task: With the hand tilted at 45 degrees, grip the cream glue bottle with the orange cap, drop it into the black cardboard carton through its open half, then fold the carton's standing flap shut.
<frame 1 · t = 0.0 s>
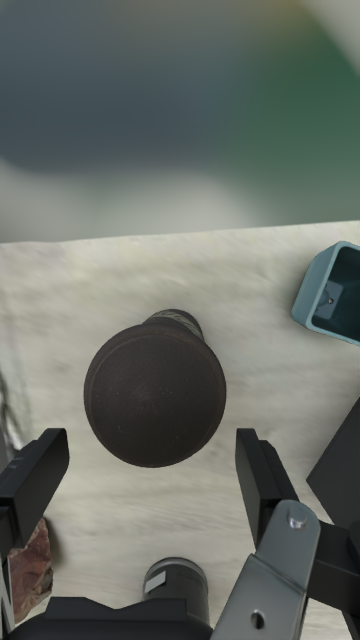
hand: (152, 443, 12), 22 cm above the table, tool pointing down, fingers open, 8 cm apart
container: (170, 339, 34), on the table
mineral specimen: (12, 544, 38), on the table
flower pot: (316, 297, 33), on the table
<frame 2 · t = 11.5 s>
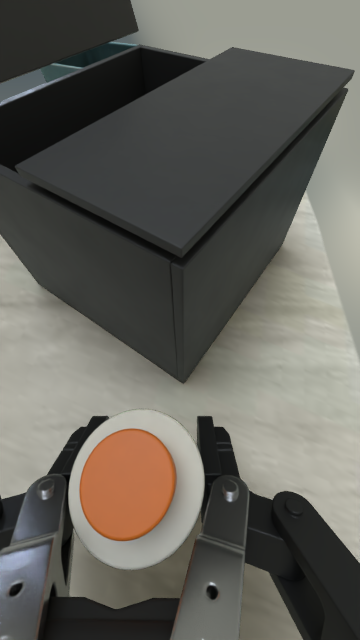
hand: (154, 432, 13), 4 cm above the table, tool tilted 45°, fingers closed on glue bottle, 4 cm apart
carton: (165, 263, 24), on the table
glue bottle: (159, 476, 16), on the table, touching gripper
flower pot: (111, 143, 36), on the table
when the fingers open (15 cm above the table, at t = 18.3 s): glue bottle drops 9 cm, resting on carton.
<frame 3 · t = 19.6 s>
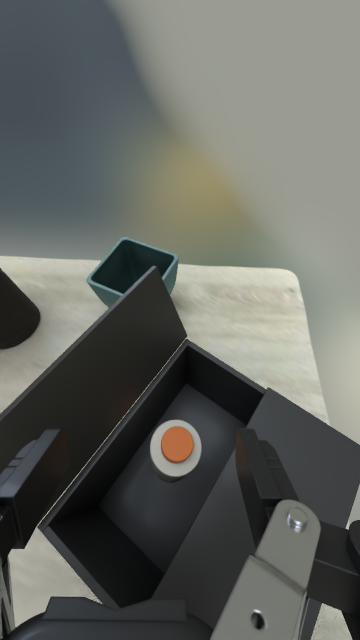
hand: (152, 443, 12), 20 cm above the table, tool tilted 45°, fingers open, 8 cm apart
flap: (96, 391, 17), point 16 cm above the table, hinge at 110.0°
container: (12, 325, 39), on the table
carton: (200, 482, 28), on the table
glue bottle: (170, 459, 29), point 1 cm above the table, tilted 7°, touching carton
flower pot: (143, 307, 40), on the table
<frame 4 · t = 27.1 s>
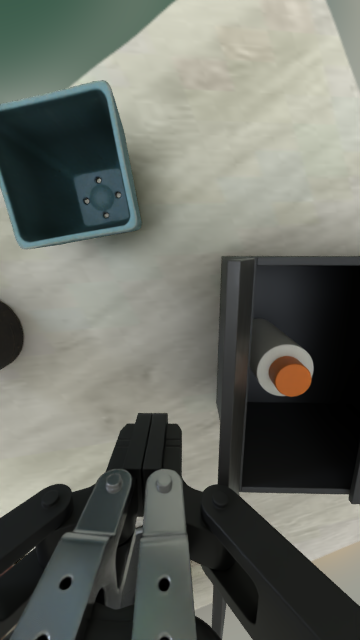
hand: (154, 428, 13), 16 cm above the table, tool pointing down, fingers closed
flap: (235, 433, 13), point 16 cm above the table, hinge at 107.0°, touching gripper
carton: (291, 335, 29), on the table
glue bottle: (256, 337, 28), resting on carton
flower pot: (103, 199, 26), on the table
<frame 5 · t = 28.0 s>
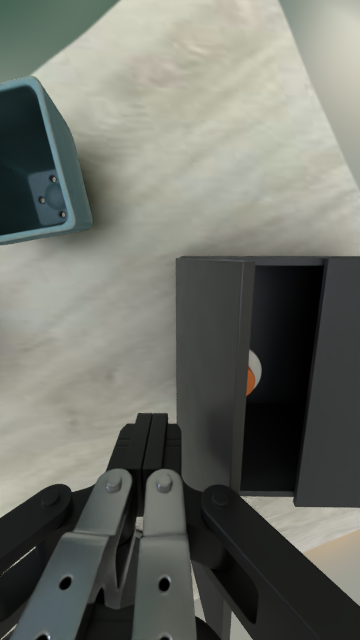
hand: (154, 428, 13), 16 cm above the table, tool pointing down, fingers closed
flap: (198, 438, 12), point 16 cm above the table, hinge at 75.5°, touching gripper
carton: (254, 335, 28), on the table
glue bottle: (218, 338, 28), resting on carton
flower pot: (59, 199, 25), on the table
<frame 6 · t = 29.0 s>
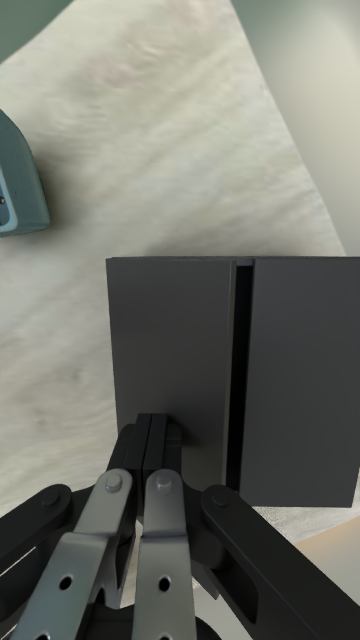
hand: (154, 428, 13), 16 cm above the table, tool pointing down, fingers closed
flap: (161, 422, 14), point 15 cm above the table, hinge at 40.6°
carton: (218, 335, 28), on the table
flower pot: (20, 199, 25), on the table
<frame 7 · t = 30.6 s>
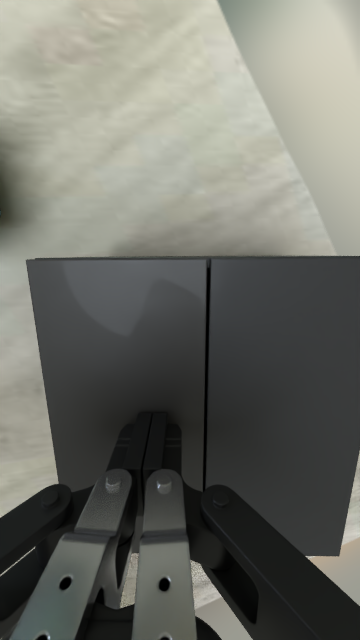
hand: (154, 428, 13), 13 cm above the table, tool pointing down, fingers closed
flap: (127, 426, 13), point 13 cm above the table, hinge at -0.3°, touching gripper
carton: (195, 344, 25), on the table
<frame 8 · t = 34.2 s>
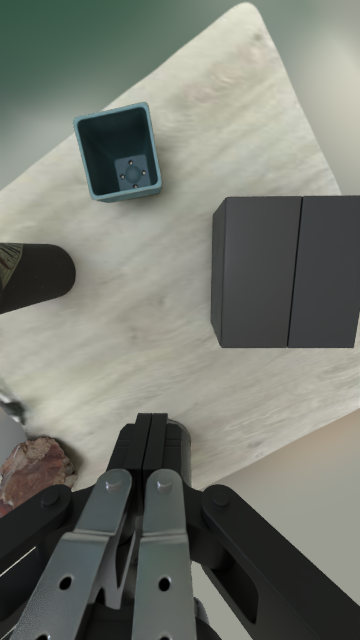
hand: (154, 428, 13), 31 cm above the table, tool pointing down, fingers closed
flap: (258, 277, 29), point 13 cm above the table, hinge at -0.5°
container: (52, 271, 42), on the table
mineral specimen: (47, 464, 52), on the table
carton: (261, 270, 41), on the table
flower pot: (133, 176, 39), on the table
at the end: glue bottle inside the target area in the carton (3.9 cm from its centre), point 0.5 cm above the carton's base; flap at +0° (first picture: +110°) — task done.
